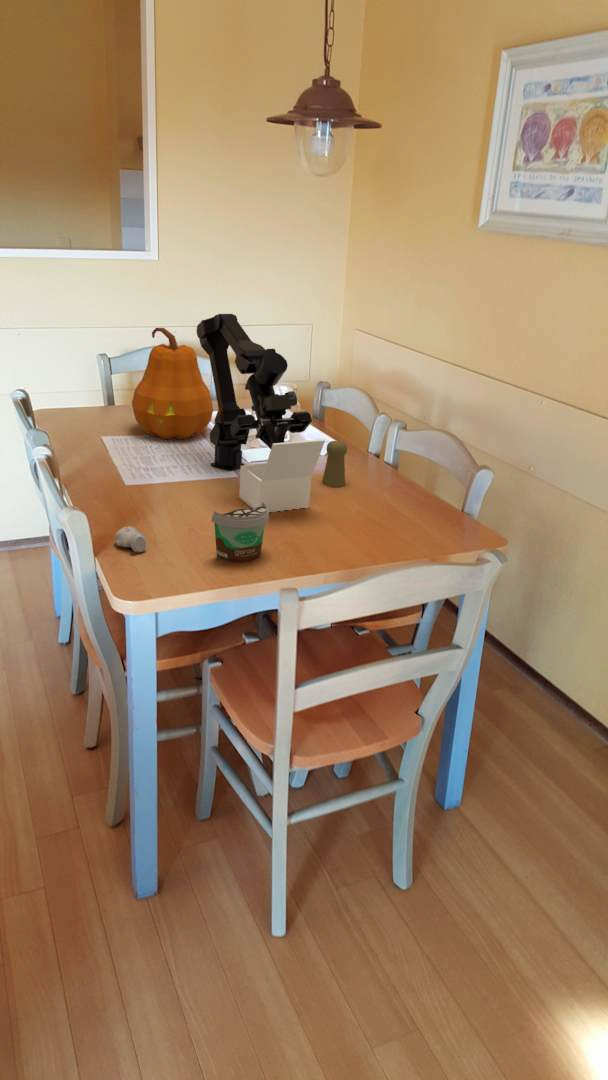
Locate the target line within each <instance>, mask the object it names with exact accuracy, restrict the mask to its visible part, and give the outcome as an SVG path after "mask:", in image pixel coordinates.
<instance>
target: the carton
mask: <svg viewBox="0 0 608 1080" xmlns="http://www.w3.org/2000/svg"><path fill="white" fill-rule="evenodd" d="M266 464H267V462H266V463H257V464H244V466H241V467H240V471H239V473H240V475H239V476H240V477H239V497H238V498H239V499H240V500H241V501H242V502H243V503H245V504H246V505H247V506H249V508H250V509H252V508H257V507H262V502H263V503H264V504H265V505H266V506H267V509H268V513H269V512H272V513H278V512H277V511H280V512H285V511H284V510H289V511H293V510H292V509H297V510H300V509H299V508H305V509H307V508H306V507H309V508H310V500H311V490H312V489H311V488H312V486H311V485H312V477H313V475H312V476H307V477H297V478H287V479H277V480H267V481H262V477H263V473H264V470H265V467H266ZM269 514H270V513H269Z"/></svg>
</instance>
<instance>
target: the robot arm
mask: <svg viewBox="0 0 608 1080" xmlns="http://www.w3.org/2000/svg"><path fill="white" fill-rule="evenodd" d="M196 335H197V339H199V344H200V347H201V348H202V349H203V350H204V352H205V353H206V354H207V355H208V356H209V361H210V362H209V363H210V369H211V373H212V374H211V375H212V379H213V384H214V391H215V395H216V396H215V398H216V401H217V408H218V410H217V413H216V415H215V418H214V420H213V421H214V426H213V427H212V429H211V430H210V432H209V442H210V443H211V444H212V445H214V462H211V463H210V466H211V467H215V468H219V469H222V470H225V471H233V470H236V469H238V468H241V466H244V465H245V463H243V461H242V460H243V450H242V445H247V443H248V439H249V434H250V430H253V429H254V430H255V431H256V435H254V436H255V439H259V440H260V441H261V442H262V443H264V444H265V445H266V446H267V447H268V448H269V449H270V450H271V448H272V445H273V443H285V439H286V434H287V432H290V433H291V434H297V433H303V432H305V431H306V429H307V428H308V427H309V425H310V424H311V423H312V422H313V417H312V415H311V412H309V411H294V412H293V413H292V414H291V415H290V417H283V416H285V415H286V414H287V411H286V410H292V407H294V406H296V405H298V398H297V395H296V392H295V391H294V390H293V391H287V392H285V393H284V394H278V393H276V392H275V388H274V387H275V385H277V384H278V383H279V381H280V380H281V378H282V377H283V375H284V374H285V372H286V371H287V369H288V361H287V359H285V357H284V356H282V355H281V354H280V353H279V352H276V348H266V349H265V347H263V346H262V345H260V344H258V343H257V342H254V341H252V339H251V338H250V336H249V335H248V334H247V333H246V331H245V329H244V328H243V327H242V326H241V324H240V322H239V321H238V317H237V315H236V314H233V313H218V314H216V315H214V316H213V317H210V318H206V319H202V320H201V321H200V322H199V323H198V324H197V326H196ZM229 347H230V348H231V350H232V351H233V353H234V354H235V360H234V364H235V367H236V369H237V370H238V372H239V373H240V374H241V375H249V374H251V375H250V376H249V377H248V379H247V380H246V383H245V386H244V390H245V391H248V392H249V395H250V396H249V397H250V398H251V402H252V406H251V411H252V412H254V413H255V417H256V419H255V417H254V415H253V414H247V412H246V410H245V409H244V408H240V406H239V405H238V403H237V399H236V392H235V388H234V381H233V378H232V377H233V376H232V371H231V366H230V361H229V354H228V350H229Z"/></svg>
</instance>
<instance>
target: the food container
mask: <svg viewBox="0 0 608 1080" xmlns="http://www.w3.org/2000/svg"><path fill="white" fill-rule="evenodd" d="M269 514H270V513H268V509H267V506H266V505H265V504H264V503H263V502H262V507H257V508H238V509H235V510H233V511H230V512H226V513H225V512H224V513H219V512H216V510H214V511H213V513H212V515H211V520H210V521H211V522H212V523H214V534H215V535H214V536H215V537H214V538H215V549H216V550H215V551H216V558H218V559H219V560H222V561H224V562H228V563H235V564H236V563H237V564H243V563H245V564H246V563H250V562H254V561H256V560H258V559H259V558H260V557H261V553H262V545H263V540H264V534H265V526H266V523H267V522H268V521H269V519H270V515H269Z"/></svg>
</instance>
